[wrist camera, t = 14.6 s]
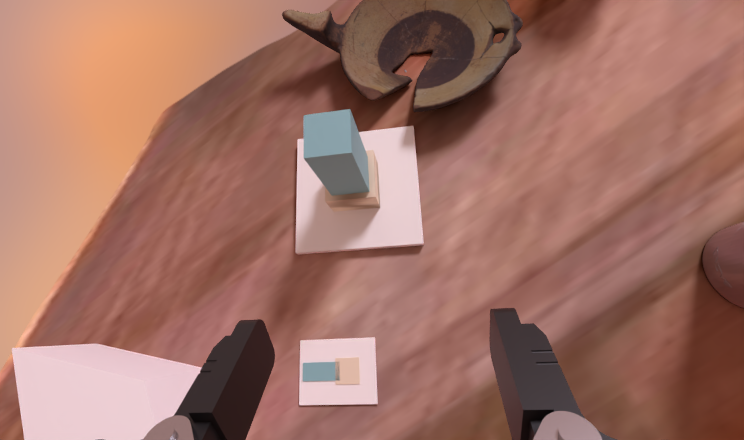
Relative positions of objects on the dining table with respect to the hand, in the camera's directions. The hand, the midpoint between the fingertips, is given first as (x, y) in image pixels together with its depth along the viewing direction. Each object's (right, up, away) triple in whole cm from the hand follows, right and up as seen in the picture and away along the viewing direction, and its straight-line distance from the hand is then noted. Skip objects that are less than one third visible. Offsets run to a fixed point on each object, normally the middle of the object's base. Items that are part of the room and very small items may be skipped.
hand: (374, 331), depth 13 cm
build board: (-2, +8, +35) cm, 36 cm away
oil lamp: (+5, +28, +40) cm, 50 cm away
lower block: (-2, +8, +34) cm, 35 cm away
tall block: (-3, +9, +30) cm, 32 cm away
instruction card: (-4, -13, +29) cm, 32 cm away
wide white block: (-24, -20, +31) cm, 44 cm away
